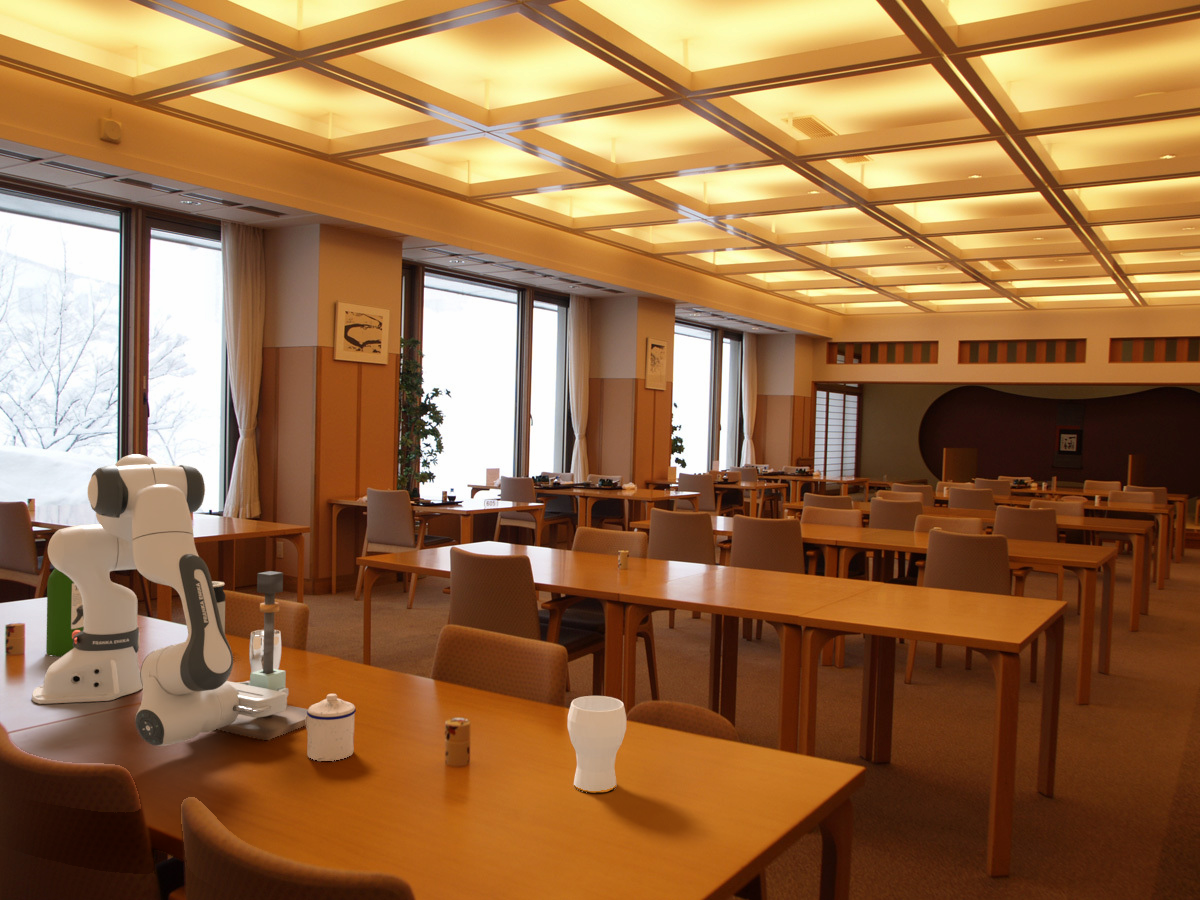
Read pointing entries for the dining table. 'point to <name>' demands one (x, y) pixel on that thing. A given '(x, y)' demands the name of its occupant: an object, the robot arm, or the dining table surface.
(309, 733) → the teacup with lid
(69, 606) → the wine bottle
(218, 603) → the travel mug
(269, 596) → the post stand
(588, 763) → the cup
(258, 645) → the beer glass
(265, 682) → the marker sleeve
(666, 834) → the dining table surface
